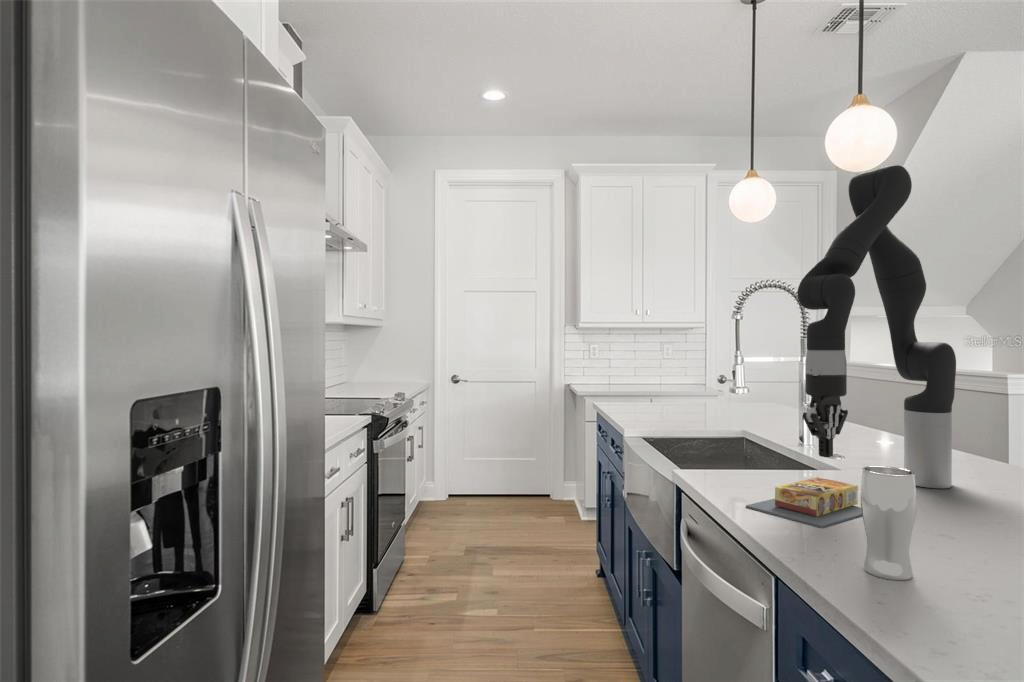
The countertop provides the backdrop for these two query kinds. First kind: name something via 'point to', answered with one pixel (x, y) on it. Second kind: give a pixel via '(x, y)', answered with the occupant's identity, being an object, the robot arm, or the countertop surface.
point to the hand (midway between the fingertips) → (825, 456)
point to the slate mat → (818, 521)
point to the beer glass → (888, 520)
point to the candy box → (816, 496)
